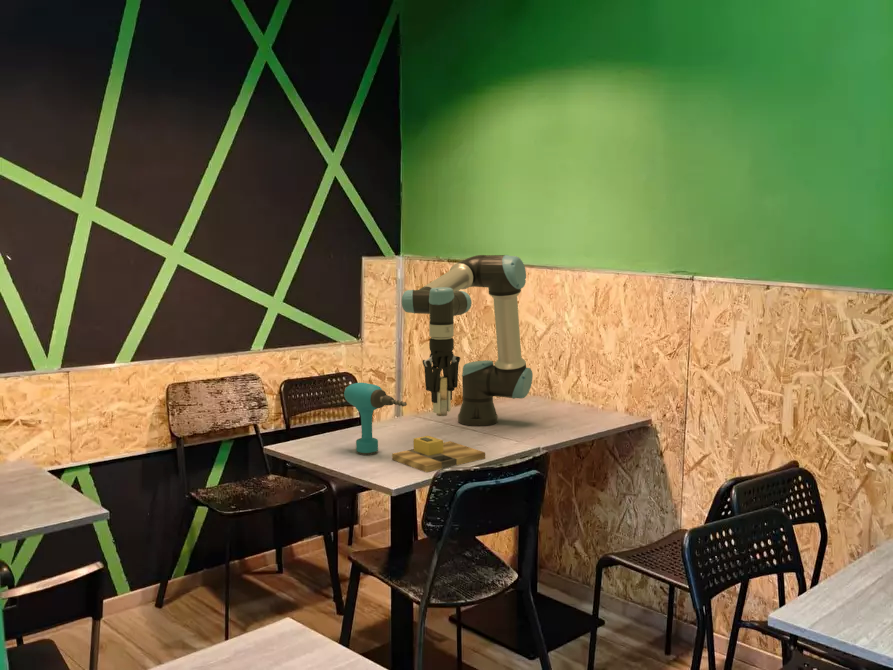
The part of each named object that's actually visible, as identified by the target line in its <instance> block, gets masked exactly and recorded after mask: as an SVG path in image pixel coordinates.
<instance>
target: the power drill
mask: <svg viewBox="0 0 893 670" xmlns="http://www.w3.org/2000/svg"><path fill="white" fill-rule="evenodd" d="M343 396H344V399H345V401H347V403H349V405H351V406H353V407H354V408H355V409H356V410H357V411H358V412H359V414H360V425H361V427H360V428H361V437H360V438H357V439H356V441H355V448H356V449H355V452H356V454H358V455H363V456H370V455H375V454H378V452H379V440H378V438H375V437H373V416H374V415H373V413H374V411H376V410H377V409H382V408H383V407H385V406H393V405H395V406H397V405H398V406H399V407H400V406H401V407H407V405H408V404H407V402H406V401H403V400H399V399H397V400H396V399H395V398H394V397H392V396H390V395H388V394H387V393H386V390H383V389H382V388H381V387H380V386H379V385H378V384H373V383H368V382H355V383H351V384H350V385H348V386H346V387H345V389H344V391H343Z"/></svg>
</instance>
